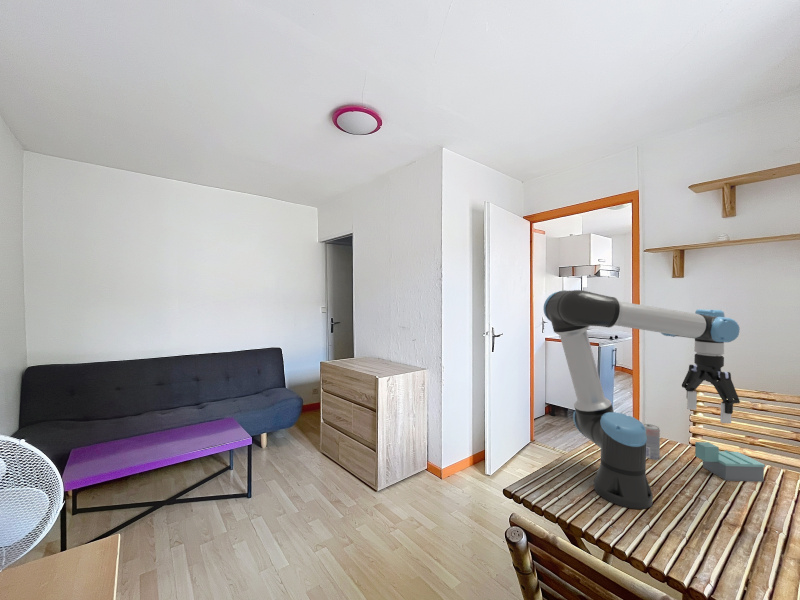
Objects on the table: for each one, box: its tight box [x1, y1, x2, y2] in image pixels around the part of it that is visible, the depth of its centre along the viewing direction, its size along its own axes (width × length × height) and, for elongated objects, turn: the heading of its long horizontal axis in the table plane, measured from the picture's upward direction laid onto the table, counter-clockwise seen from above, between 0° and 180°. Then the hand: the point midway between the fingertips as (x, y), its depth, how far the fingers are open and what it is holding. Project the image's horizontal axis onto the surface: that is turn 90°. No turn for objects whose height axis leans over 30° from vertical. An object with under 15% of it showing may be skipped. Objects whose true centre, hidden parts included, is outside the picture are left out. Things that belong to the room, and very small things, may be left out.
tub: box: [702, 460, 765, 483], centre depth 117 cm, size 12×9×6 cm
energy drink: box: [643, 423, 661, 460], centre depth 129 cm, size 5×5×12 cm
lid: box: [694, 441, 766, 468], centre depth 117 cm, size 17×9×6 cm, turn 87°
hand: (707, 415), depth 117 cm, fingers open, 13 cm apart
